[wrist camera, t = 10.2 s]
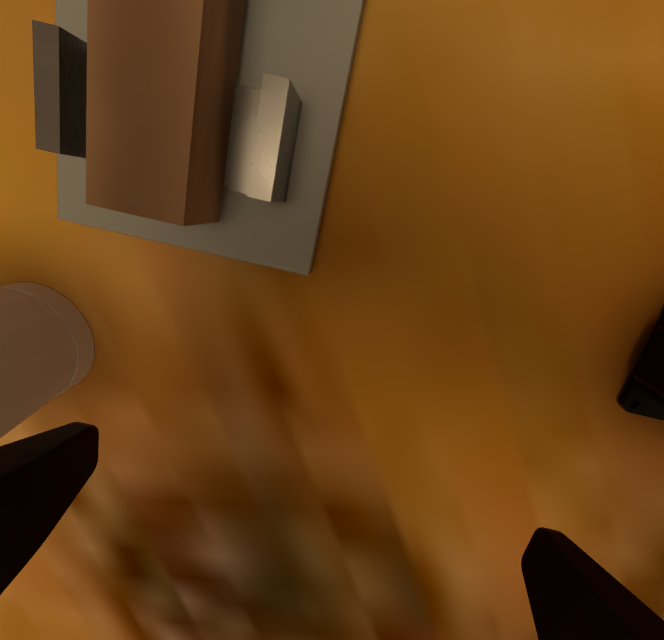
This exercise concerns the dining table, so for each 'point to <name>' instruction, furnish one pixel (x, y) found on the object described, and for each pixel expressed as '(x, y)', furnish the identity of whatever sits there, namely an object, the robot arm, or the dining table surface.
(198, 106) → the rail
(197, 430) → the dining table surface
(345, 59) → the board
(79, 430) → the robot arm
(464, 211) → the dining table surface
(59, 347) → the cup
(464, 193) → the dining table surface
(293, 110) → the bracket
